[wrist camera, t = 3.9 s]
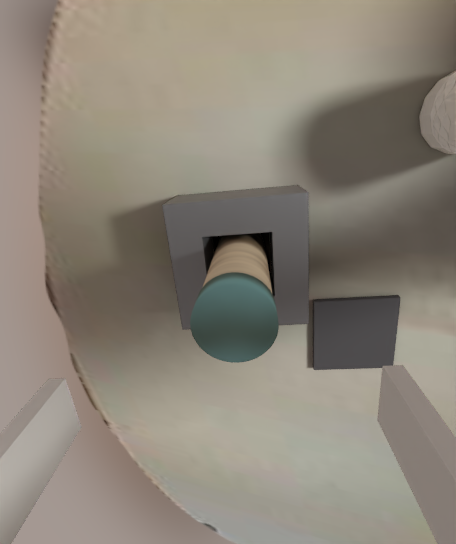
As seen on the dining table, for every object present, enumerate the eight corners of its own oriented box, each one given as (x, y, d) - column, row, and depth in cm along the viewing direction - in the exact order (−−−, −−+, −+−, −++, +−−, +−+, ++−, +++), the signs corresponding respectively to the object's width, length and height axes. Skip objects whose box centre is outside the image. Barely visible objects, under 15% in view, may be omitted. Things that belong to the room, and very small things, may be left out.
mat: (313, 299, 35) (314, 302, 34) (397, 295, 34) (400, 297, 34) (313, 366, 38) (313, 369, 38) (390, 364, 37) (392, 367, 37)
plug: (214, 225, 33) (184, 287, 18) (264, 222, 32) (276, 282, 17) (219, 272, 35) (196, 363, 20) (267, 269, 34) (279, 360, 19)
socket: (177, 195, 32) (162, 204, 26) (298, 185, 31) (308, 192, 25) (193, 302, 36) (182, 329, 31) (299, 296, 35) (308, 323, 29)
